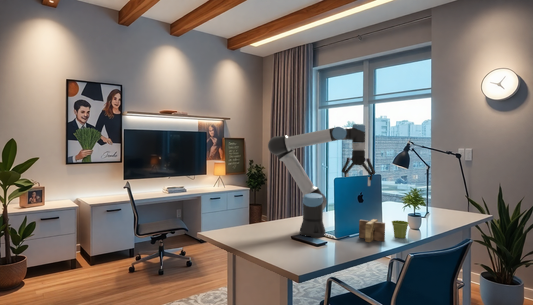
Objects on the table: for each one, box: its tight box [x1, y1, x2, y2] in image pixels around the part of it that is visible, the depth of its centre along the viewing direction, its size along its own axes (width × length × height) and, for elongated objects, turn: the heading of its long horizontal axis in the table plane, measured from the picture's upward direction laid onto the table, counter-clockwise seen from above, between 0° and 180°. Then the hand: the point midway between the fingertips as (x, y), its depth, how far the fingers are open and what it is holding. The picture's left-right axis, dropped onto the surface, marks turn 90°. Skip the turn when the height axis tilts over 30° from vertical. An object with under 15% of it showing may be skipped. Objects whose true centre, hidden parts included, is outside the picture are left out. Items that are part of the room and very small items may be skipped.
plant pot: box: [391, 220, 410, 239], centre depth 205 cm, size 9×9×9 cm
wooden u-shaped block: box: [358, 219, 386, 242], centre depth 200 cm, size 14×2×10 cm, turn 56°
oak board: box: [364, 218, 379, 243], centre depth 201 cm, size 14×3×10 cm, turn 146°
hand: (357, 185), depth 215 cm, fingers open, 13 cm apart
